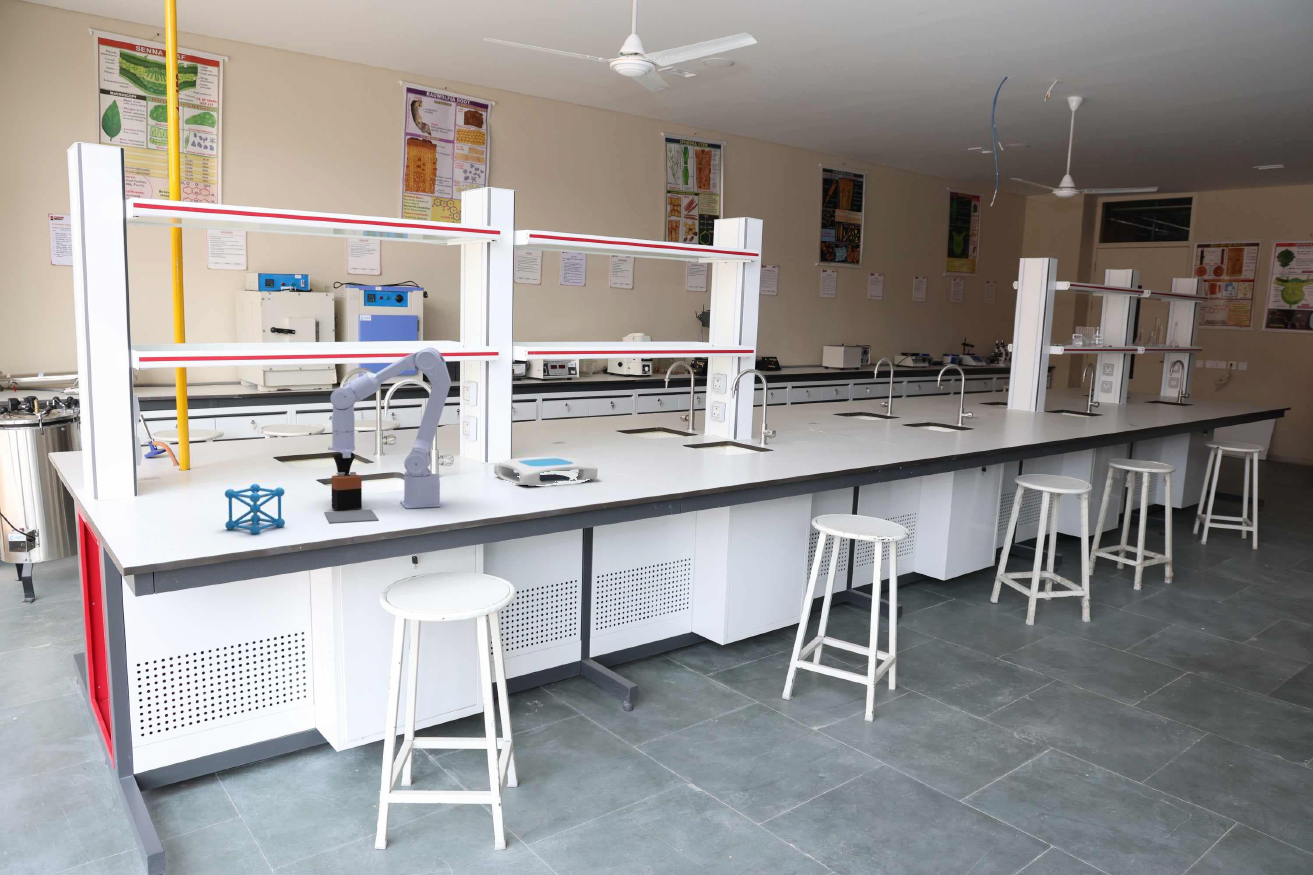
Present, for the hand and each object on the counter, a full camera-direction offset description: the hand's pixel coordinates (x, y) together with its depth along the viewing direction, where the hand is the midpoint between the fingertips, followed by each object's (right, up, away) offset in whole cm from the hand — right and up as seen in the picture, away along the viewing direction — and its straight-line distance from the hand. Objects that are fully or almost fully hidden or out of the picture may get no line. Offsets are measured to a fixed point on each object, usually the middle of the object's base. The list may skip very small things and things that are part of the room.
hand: (343, 479), depth 242 cm
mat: (+7, -9, -13) cm, 17 cm away
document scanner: (+49, -3, +51) cm, 71 cm away
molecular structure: (-11, -11, -29) cm, 33 cm away
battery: (+3, -8, -5) cm, 10 cm away
